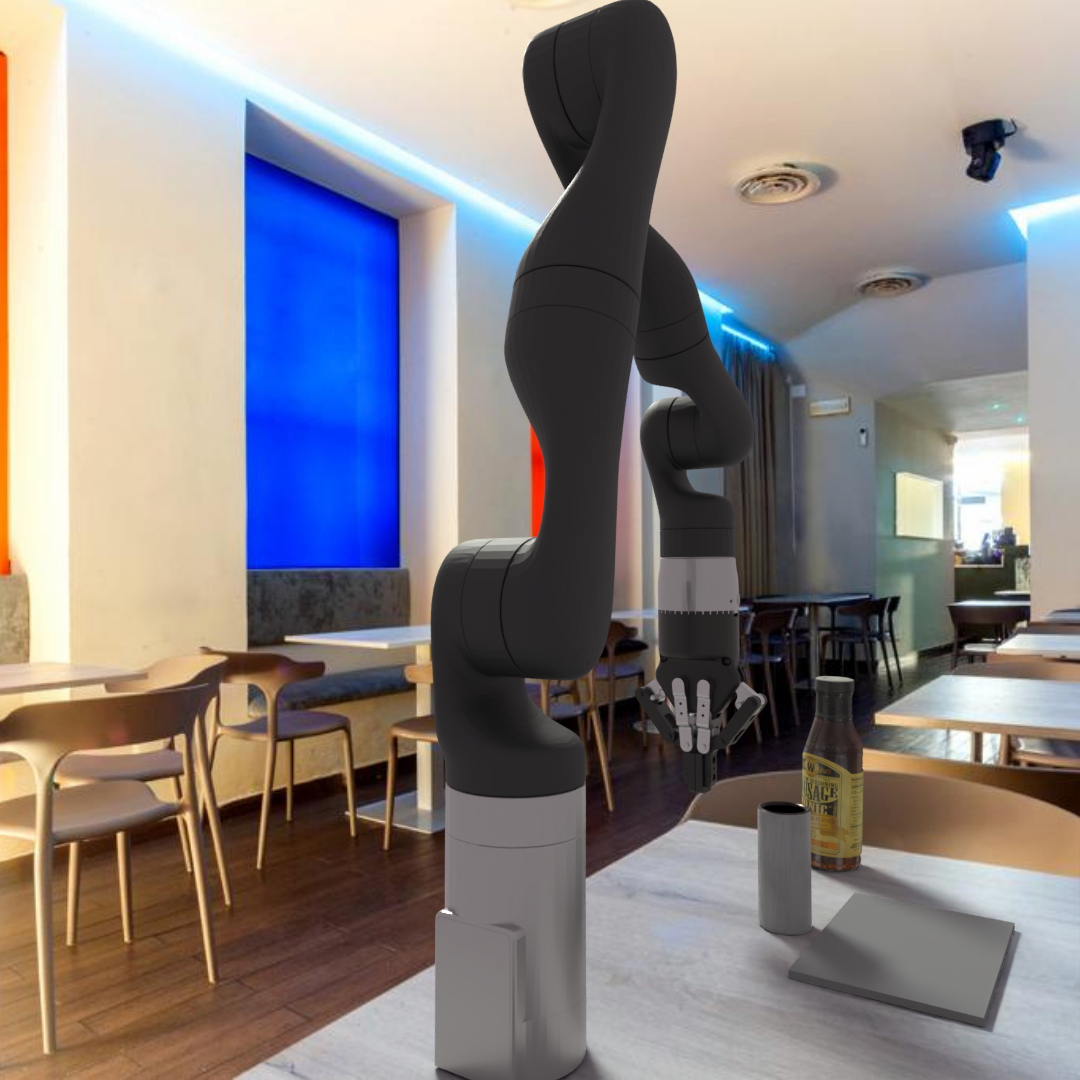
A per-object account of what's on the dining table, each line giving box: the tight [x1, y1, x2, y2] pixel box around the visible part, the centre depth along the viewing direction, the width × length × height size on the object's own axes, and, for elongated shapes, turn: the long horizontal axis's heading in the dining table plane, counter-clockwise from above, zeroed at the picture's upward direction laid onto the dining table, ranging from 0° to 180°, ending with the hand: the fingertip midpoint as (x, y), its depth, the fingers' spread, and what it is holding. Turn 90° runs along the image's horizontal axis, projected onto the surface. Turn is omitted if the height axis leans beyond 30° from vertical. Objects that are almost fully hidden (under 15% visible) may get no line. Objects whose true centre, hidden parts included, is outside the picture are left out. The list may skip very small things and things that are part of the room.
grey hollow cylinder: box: [757, 800, 813, 936], centre depth 79 cm, size 4×4×10 cm
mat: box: [787, 892, 1015, 1028], centre depth 73 cm, size 20×14×1 cm
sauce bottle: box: [801, 675, 864, 872], centre depth 95 cm, size 7×6×20 cm
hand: (700, 790), depth 83 cm, fingers closed
